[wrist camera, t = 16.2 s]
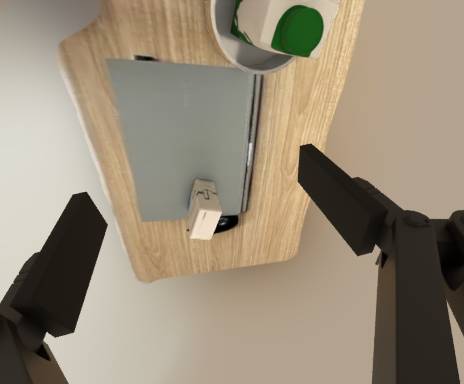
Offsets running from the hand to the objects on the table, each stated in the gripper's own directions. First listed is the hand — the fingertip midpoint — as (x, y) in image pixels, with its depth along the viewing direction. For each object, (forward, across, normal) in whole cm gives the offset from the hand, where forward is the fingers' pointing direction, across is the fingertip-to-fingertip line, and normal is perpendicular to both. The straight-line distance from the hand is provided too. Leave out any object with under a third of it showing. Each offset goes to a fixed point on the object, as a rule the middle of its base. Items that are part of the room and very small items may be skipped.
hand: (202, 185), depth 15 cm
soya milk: (+34, +14, +8) cm, 38 cm away
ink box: (+35, -2, -26) cm, 44 cm away
